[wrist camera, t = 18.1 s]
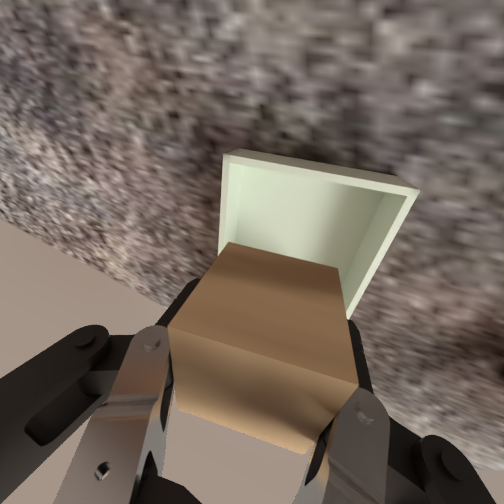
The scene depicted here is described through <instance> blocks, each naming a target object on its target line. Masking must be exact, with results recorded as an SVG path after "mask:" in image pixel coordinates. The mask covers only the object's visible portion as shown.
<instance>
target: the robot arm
mask: <svg viewBox="0 0 504 504" xmlns="http://www.w3.org/2000/svg"><path fill="white" fill-rule="evenodd" d="M200 280H201V279H199V278H196V279H194V280H192V281H191V282H189V283H188V284H187V285H186V286H185V287H184V289H183V290H182V292H181V293H180V294H179V295H178V296H177V299H175V300H174V301H173V303H172V304H171V305H170V306H169V308H168V309H167V310H166V312H165V313H164V314H163V315H162V317H161V318H160V319H159V320H158V322H157V323H156V324H155V325H154V326H149V327H146V328H144V329H142V330H140V331H139V332H138V333H137V334H135V335H109V333H108V330H107V329H106V328H105V327H103V326H100V325H89V326H84V327H82V328H79V329H77V330H75V331H74V332H72V333H70V334H69V335H67V336H66V337H64V338H63V339H61V340H59V341H58V342H56V343H55V344H53V345H52V346H50V347H49V348H47V349H46V350H44V351H42V352H41V353H39V354H38V355H36V356H35V357H33V358H32V359H30V360H29V361H27V362H25V363H24V364H22V365H21V366H19V367H18V368H16V369H15V370H13V371H11V372H10V373H8V374H7V375H5V376H4V377H2V378H1V379H0V504H1V503H2V502H3V501H4V500H5V499H6V498H7V497H8V496H9V495H10V494H11V493H12V492H13V491H14V490H15V489H16V488H17V487H18V486H19V485H20V484H21V483H22V482H23V481H25V480H26V479H27V478H28V477H29V476H30V474H32V473H33V472H34V471H35V470H36V469H37V468H38V467H39V466H40V465H41V464H42V463H43V462H44V461H45V460H46V459H47V458H48V457H49V456H50V455H51V454H52V453H53V452H54V451H55V450H56V449H57V448H58V447H59V446H60V445H61V444H62V443H63V442H64V441H65V440H66V439H67V438H68V437H69V436H70V435H72V434H73V433H74V432H75V431H76V430H77V429H78V428H79V427H80V426H81V425H82V423H84V422H85V421H86V420H87V419H88V418H89V417H90V416H91V415H92V416H91V418H90V420H89V422H88V425H87V427H86V429H85V431H84V434H83V436H82V438H81V441H80V443H79V445H78V447H77V450H76V452H75V455H74V457H73V459H72V461H71V464H70V466H69V468H68V470H67V473H66V475H65V477H64V480H63V482H62V484H61V487H60V489H59V491H58V493H57V496H56V498H55V500H54V503H53V504H202V503H201V502H200V501H198V499H197V498H195V497H194V496H193V495H192V494H191V493H190V492H189V491H188V490H187V489H186V488H185V487H184V486H182V485H180V484H177V483H175V482H172V481H170V480H167V479H165V478H162V477H161V476H162V470H163V465H164V458H165V449H166V435H167V428H168V423H169V417H170V411H171V406H172V400H173V394H174V389H175V385H174V376H173V368H172V360H171V351H170V343H169V335H168V325H169V323H170V322H171V321H172V319H173V318H174V316H175V315H176V314H177V312H178V311H179V310H180V308H181V307H182V305H183V304H184V303H185V301H186V300H187V298H188V297H189V296H190V294H191V293H192V292H193V290H194V289H195V287H196V286H197V285H198V283H199V282H200ZM347 321H348V327H349V333H350V338H351V344H352V349H353V355H354V360H355V366H356V371H357V377H358V382H359V386H358V387H357V389H356V390H355V391H354V392H353V394H352V395H351V396H350V397H349V399H348V400H347V401H346V403H345V404H344V405H343V406H342V408H341V409H340V410H339V411H338V413H337V414H336V415H335V416H334V418H333V419H332V420H331V422H330V423H329V424H328V425H327V427H326V428H325V429H324V430H323V432H322V433H321V434H320V436H319V437H318V438H317V439H316V441H315V443H314V446H313V449H312V452H311V455H310V458H309V462H308V465H307V468H306V471H305V474H304V477H303V480H302V483H301V486H300V488H299V491H298V493H297V494H296V496H295V499H294V501H293V503H292V504H496V503H495V501H494V499H493V498H492V496H491V495H490V493H489V491H488V490H487V488H486V487H485V485H484V483H483V482H482V480H481V479H480V477H479V475H478V474H477V472H476V471H475V469H474V468H473V466H472V465H471V463H470V462H469V461H468V459H467V458H466V457H465V456H464V455H463V453H462V452H461V451H460V450H459V449H457V448H456V447H455V446H454V445H453V444H451V443H450V442H449V441H447V440H446V439H444V438H442V437H439V436H436V435H428V436H425V437H424V438H421V437H419V436H418V435H416V434H414V433H413V432H411V431H410V430H408V429H407V428H405V427H404V426H402V425H401V424H399V423H398V422H396V421H395V420H393V419H392V418H391V417H390V416H389V415H388V413H387V411H386V409H385V407H384V406H383V404H382V403H381V402H380V400H379V399H378V398H377V397H376V396H375V395H374V393H373V389H372V385H371V381H370V376H369V372H368V367H367V363H366V359H365V354H364V350H363V345H362V344H361V343H362V341H361V337H360V332H359V330H358V329H357V327H356V325H355V324H354V322H353V321H352V320H348V319H347ZM106 400H107V401H106ZM105 401H106V402H105ZM104 402H105V403H104ZM103 403H104V404H103ZM105 473H107V474H108V475H107V476H106V477H105V478H104V479H103V480H102V477H103V475H104V474H105Z"/></svg>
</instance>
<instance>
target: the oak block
mask: <svg viewBox="0 0 504 504" xmlns="http://www.w3.org/2000/svg"><path fill="white" fill-rule="evenodd" d="M168 335H169V343H170V351H171V360H172V368H173V376H174V385H175V393H176V401H177V409H179V410H181V411H184V412H187V413H190V414H192V415H195V416H198V417H200V418H203V419H206V420H209V421H212V422H214V423H217V424H220V425H222V426H225V427H228V428H231V429H233V430H236V431H239V432H242V433H244V434H247V435H250V436H253V437H255V438H258V439H261V440H264V441H267V442H269V443H272V444H275V445H278V446H280V447H283V448H286V449H289V450H291V451H294V452H297V453H300V454H302V455H304V454H305V453H306V452H307V451H308V449H309V448H310V447H311V446H312V444H313V443H314V442H315V441H316V439H317V438H318V437H319V436H320V434H321V433H322V432H323V430H324V429H325V428H326V427H327V425H328V424H329V423H330V422H331V420H332V419H333V418H334V416H335V415H336V414H337V413H338V411H339V410H340V409H341V408H342V406H343V405H344V404H345V403H346V401H347V400H348V399H349V397H350V396H351V395H352V394H353V392H354V391H355V390H356V389H357V387H358V386H359V382H358V377H357V371H356V366H355V360H354V355H353V349H352V344H351V338H350V333H349V327H348V321H347V316H346V310H345V305H344V299H343V294H342V288H341V283H340V277H339V272H338V268H335V267H331V266H327V265H323V264H319V263H315V262H311V261H306V260H302V259H298V258H294V257H290V256H286V255H282V254H277V253H273V252H269V251H265V250H261V249H257V248H253V247H248V246H244V245H240V244H236V243H232V242H228V243H227V244H226V246H225V247H224V249H223V250H222V251H221V253H220V254H219V255H218V257H217V258H216V260H215V261H214V262H213V264H212V265H211V267H210V268H209V269H208V271H207V272H206V274H205V275H204V276H203V278H202V279H201V280H200V282H199V283H198V285H197V286H196V287H195V289H194V290H193V292H192V293H191V294H190V296H189V297H188V298H187V300H186V301H185V303H184V304H183V305H182V307H181V308H180V310H179V311H178V312H177V314H176V315H175V316H174V318H173V319H172V321H171V322H170V323H169V325H168Z"/></svg>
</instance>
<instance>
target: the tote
mask: <svg viewBox="0 0 504 504" xmlns="http://www.w3.org/2000/svg"><path fill="white" fill-rule="evenodd" d="M419 192H420V189H418V188H417V187H415V186H413V185H412V184H410V183H408V182H407V181H405V180H403V179H402V178H400V177H398V176H394V175H388V174H383V173H377V172H371V171H366V170H360V169H355V168H349V167H343V166H338V165H332V164H326V163H321V162H315V161H309V160H304V159H298V158H293V157H287V156H281V155H276V154H270V153H264V152H259V151H253V150H247V149H242V148H240V149H237V150H233V151H230V152H227V153H224V154H223V168H222V187H221V206H220V225H219V243H218V255H219V254H220V253H221V251H222V250H223V249H224V247H225V246H226V244H227V243H228V242H232V243H236V244H240V245H244V246H248V247H253V248H257V249H261V250H265V251H269V252H273V253H277V254H282V255H286V256H290V257H294V258H298V259H302V260H306V261H311V262H315V263H319V264H323V265H327V266H331V267H335V268H338V272H339V277H340V283H341V288H342V294H343V299H344V305H345V310H346V316H347V319H348V320H349V318H350V316H351V314H352V313H353V311H354V309H355V307H356V305H357V304H358V302H359V300H360V298H361V296H362V294H363V293H364V291H365V289H366V287H367V285H368V284H369V282H370V280H371V278H372V276H373V275H374V273H375V271H376V269H377V267H378V266H379V264H380V262H381V260H382V258H383V257H384V255H385V253H386V251H387V249H388V248H389V246H390V244H391V242H392V240H393V239H394V237H395V235H396V233H397V231H398V230H399V228H400V226H401V224H402V222H403V221H404V219H405V217H406V215H407V213H408V212H409V210H410V208H411V206H412V204H413V203H414V201H415V199H416V197H417V195H418V194H419Z"/></svg>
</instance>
